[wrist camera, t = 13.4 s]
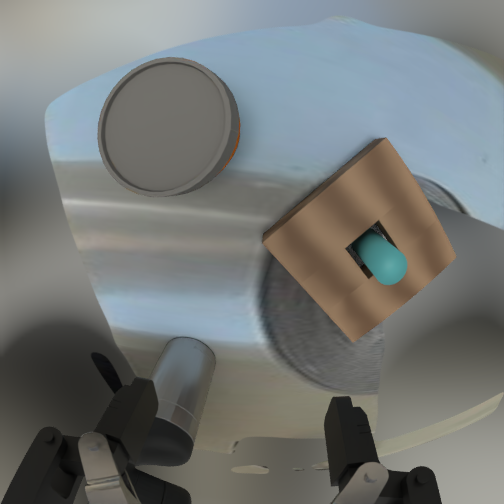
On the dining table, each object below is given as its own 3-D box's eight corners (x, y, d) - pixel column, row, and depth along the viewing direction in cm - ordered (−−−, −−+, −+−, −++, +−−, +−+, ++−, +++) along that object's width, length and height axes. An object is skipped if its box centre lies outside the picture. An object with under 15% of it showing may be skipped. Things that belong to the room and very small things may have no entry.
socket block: (347, 327, 41) (352, 342, 38) (263, 234, 37) (262, 242, 34) (443, 248, 36) (456, 256, 32) (375, 139, 32) (386, 137, 28)
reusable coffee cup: (144, 121, 33) (78, 109, 19) (224, 75, 31) (195, 29, 17) (182, 199, 37) (130, 225, 23) (267, 157, 34) (263, 155, 20)
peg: (361, 260, 38) (386, 291, 28) (345, 239, 37) (368, 266, 27) (382, 242, 37) (412, 269, 27) (367, 221, 36) (396, 242, 26)
